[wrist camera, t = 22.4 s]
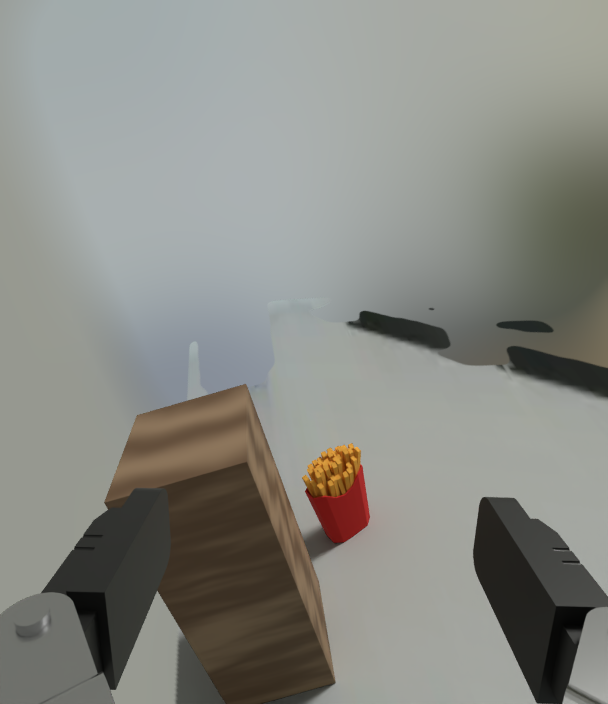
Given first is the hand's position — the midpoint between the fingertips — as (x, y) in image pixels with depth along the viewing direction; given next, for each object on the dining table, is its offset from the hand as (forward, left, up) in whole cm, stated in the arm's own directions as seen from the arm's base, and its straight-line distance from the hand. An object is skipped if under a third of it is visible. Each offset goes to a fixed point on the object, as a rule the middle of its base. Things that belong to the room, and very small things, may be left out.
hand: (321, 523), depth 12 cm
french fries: (+43, 0, -46) cm, 63 cm away
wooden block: (+29, +12, -46) cm, 55 cm away
